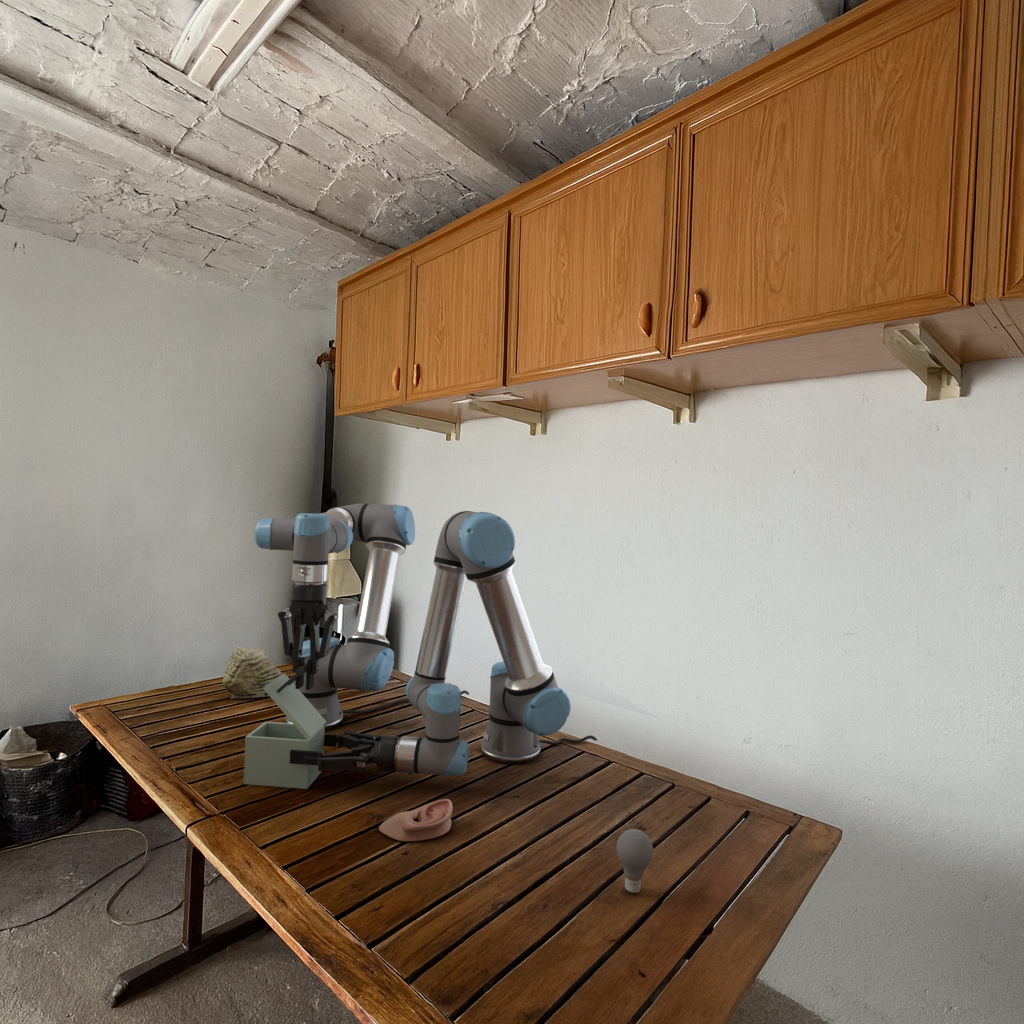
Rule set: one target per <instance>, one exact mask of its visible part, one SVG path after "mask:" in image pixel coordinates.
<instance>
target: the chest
mask: <svg viewBox="0 0 1024 1024" xmlns="http://www.w3.org/2000/svg"><path fill="white" fill-rule="evenodd" d="M325 731H326V730H325V726H322V727H321V728H320V729H319V730H318V731H317V732H316V733H314V734H313V735H312V736H311V737H310V738H309V739H308V740H307V739H306V738H305V737H304V736H303V734H302V733H301V732H300V731H299V730H298V729H297V728H296V726H295V725H294V724H293V723H286V722H278V721H277V722H276V721H265V722H263V723H262V724H260V725H259V726H257V727H256V728H255V729H253V730H252V731H251V732H250V733H248V734H247V735H245V737H244V763H243V767H244V768H243V784H244V785H248V786H249V785H251V786H263V787H264V786H265V787H275V788H276V787H277V788H290V789H300V790H301V789H304V790H307V789H309V787H310V786H312V784H313V783H314V782H315V781H316V779H317V778H318V777H319V776H320V774H321V773H322V772H323V771H318V765H304V764H290V751H291V750H303V751H318V752H319V751H322V754H325V753H324V752H325V746H324V733H325Z"/></svg>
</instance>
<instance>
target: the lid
mask: <svg viewBox="0 0 1024 1024" xmlns="http://www.w3.org/2000/svg"><path fill="white" fill-rule="evenodd" d="M306 672H307V663H306V664H304V665H303V666H301V667H300V668H298V669H297V670H296V674H295V675H294V674H293V675H292V676H291V677H290V678H289V676H288V675H287V674H286V673H282V675H281V676H280V677H278V678H277V679H275V680H273V681H272V682H270V683H269V684H267V685H266V686H265V687H264V688H263V689H264V690H265V691H266V693H267V694H268V695H269V696H268V697H270V699H271V700H272V701H273V703H275V705H276V706H277V707H278V708H279V709H280V710H281V711H282V713H283V714H284V715H285V717H286V716H287V717H288V718H289V719H290V721H291V722H292V723H293V724H294V725H295V726H296V728H297V729H298V730H299V731H300V732H301V733H302V734H303V736H304V737H305V738H306V739H307V740H308V739H309V738H310V737H311V736H312V735H313V734H314V733H316V732H317V731H318V730H319V729H320V728H321V727H322V726H323V725H324V724H325V723H326V721H325V719H324V718H323V717H322V716H321V715H320V714H319V713H318V711H317V710H316V709H315V708H314V707H313V706H312V704H311V703H310V702H309V701H308V700H307V699H306V697H305V696H304V695H303V694H302V693H301V692H300V690H299V689H295V685H294V681H295V680H296V677H297V676H301V675H303V674H304V673H306Z"/></svg>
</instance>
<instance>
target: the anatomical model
mask: <svg viewBox="0 0 1024 1024" xmlns="http://www.w3.org/2000/svg"><path fill="white" fill-rule="evenodd" d="M453 807H454V806H453V802H452V801H451V800H450V799H449V798H443V799H439V800H434V801H432V802H429V803H426V804H424V805H422V806H419V807H417V808H415V809H412V810H409V811H407V810H406V811H401V812H399V813H396V814H394V815H392V816H390V817H388V818H387V819H386V820H385V821H383V822H382V823H381V824H380V825H379V827H378V830H379V832H380V833H382V834H383V835H385V836H387V837H388V838H391V839H394V840H396V841H399V842H417V841H425V840H431V839H434V838H438V837H440V836H443V835H446V834H447V833H448V832H449V831H450V829H451V828H452V818H451V817H452V814H453Z"/></svg>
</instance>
